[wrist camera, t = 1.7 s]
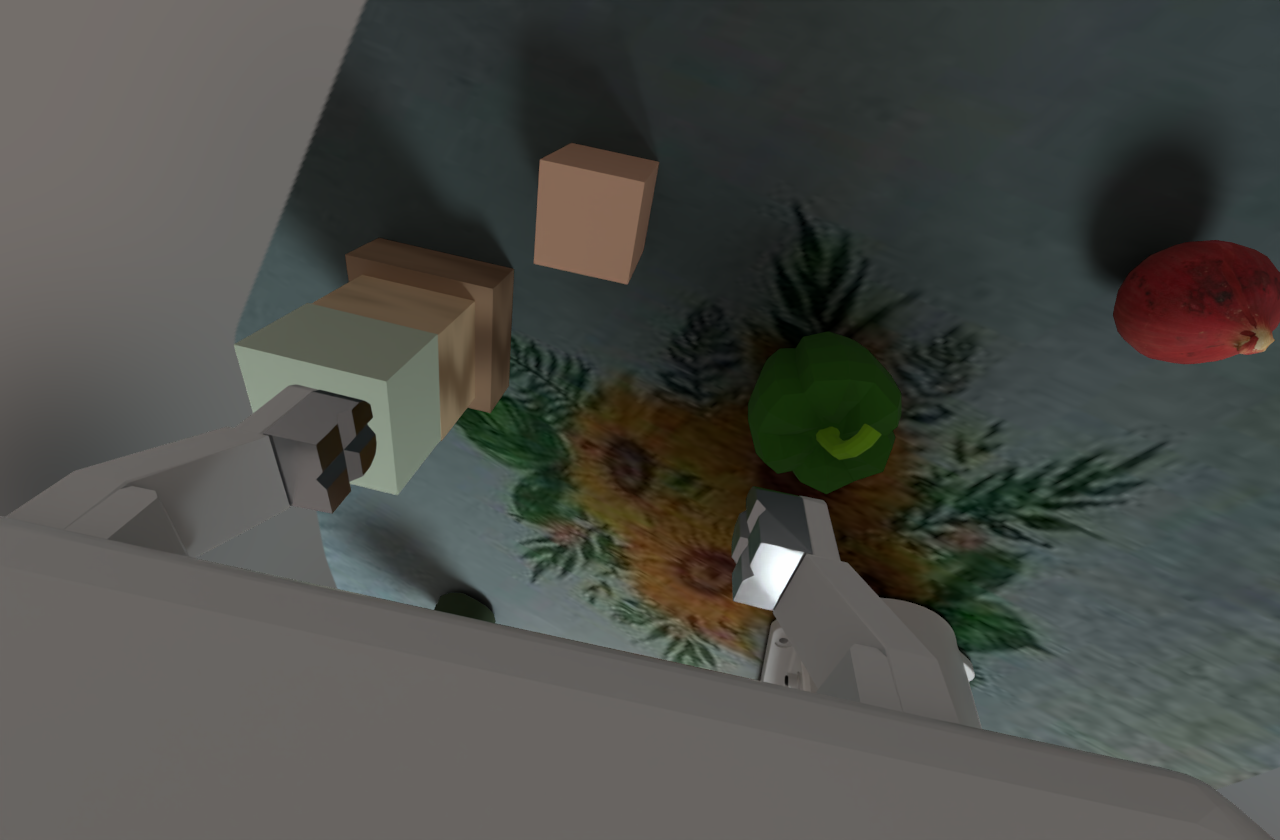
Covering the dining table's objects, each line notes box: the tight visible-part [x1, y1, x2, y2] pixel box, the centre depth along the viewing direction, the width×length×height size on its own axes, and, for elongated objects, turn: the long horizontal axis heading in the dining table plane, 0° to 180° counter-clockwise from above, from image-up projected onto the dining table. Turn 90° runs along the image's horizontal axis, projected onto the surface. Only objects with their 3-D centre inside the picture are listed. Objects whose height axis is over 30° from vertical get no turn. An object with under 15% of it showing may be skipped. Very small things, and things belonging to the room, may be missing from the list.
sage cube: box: [234, 303, 441, 495], centre depth 28 cm, size 7×7×5 cm
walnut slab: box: [345, 238, 514, 413], centre depth 35 cm, size 9×9×4 cm
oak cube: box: [312, 275, 475, 441], centre depth 32 cm, size 7×7×5 cm
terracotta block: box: [534, 143, 659, 285], centre depth 29 cm, size 5×5×6 cm
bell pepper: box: [748, 331, 901, 494], centre depth 31 cm, size 8×8×10 cm
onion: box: [1113, 240, 1280, 364], centre depth 26 cm, size 6×6×8 cm
